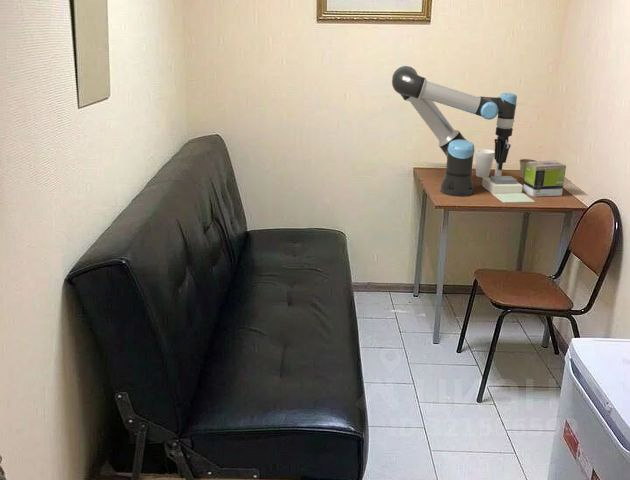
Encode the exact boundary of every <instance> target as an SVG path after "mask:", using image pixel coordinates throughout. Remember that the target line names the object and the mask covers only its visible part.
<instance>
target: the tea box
mask: <svg viewBox="0 0 630 480" xmlns="http://www.w3.org/2000/svg"><path fill="white" fill-rule="evenodd" d="M566 169H567V165H565V164H563V163H561V162H558V161H557V160H536V161H530V162H527V163H526V170H525V178H524V179H523V184H522V185H523V188H522V192H524V194H525V193H526V195H529V197H530V196H531V198H532V197H533V198H534V197H535V198H536V197H553V196H554V197H555V196H558V197H559V196H562V195H563V190H564V189H563V188H564V184H565V176H566Z"/></svg>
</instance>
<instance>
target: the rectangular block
mask: <svg viewBox="0 0 630 480" xmlns="http://www.w3.org/2000/svg"><path fill="white" fill-rule="evenodd" d="M490 178H491V179H490V180H491V181H492V182H494V183H495V184H517V182H518V179H516V178H514V177H513V176H511V175H501V176H495V175H491V176H490Z"/></svg>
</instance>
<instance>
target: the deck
mask: <svg viewBox="0 0 630 480" xmlns="http://www.w3.org/2000/svg"><path fill="white" fill-rule="evenodd" d="M490 179H491V177H487V178H482V183H481V186H482V187H483V189H485V190H487V191H488V192H489V193H490V194H492V195H493V194H509V193H523V185H524V184H521V183H519V182H518V181H517V184H495V183H494V182H492V181H491V180H490Z"/></svg>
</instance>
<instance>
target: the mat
mask: <svg viewBox="0 0 630 480" xmlns="http://www.w3.org/2000/svg"><path fill="white" fill-rule="evenodd" d="M492 195H493V196H494V197H495V198H497V200H499V201H500V202H501V203H503V204H511V203H512V204H514V203H515V204H516V203H518V204H519V203H525V204H526V203H536V201H535V200H533V198H532V197H530V196H528V194H525V192H524V193H523V192H522V193H509V194H492Z"/></svg>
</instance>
